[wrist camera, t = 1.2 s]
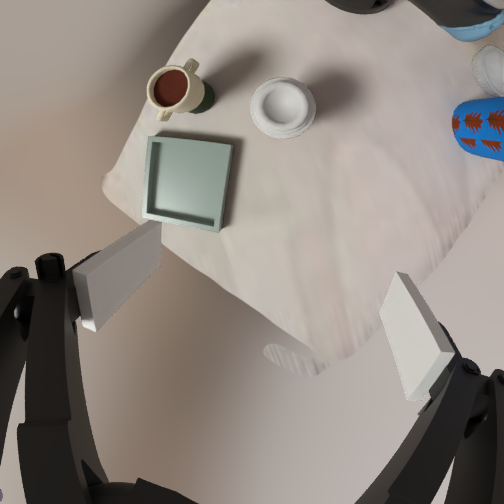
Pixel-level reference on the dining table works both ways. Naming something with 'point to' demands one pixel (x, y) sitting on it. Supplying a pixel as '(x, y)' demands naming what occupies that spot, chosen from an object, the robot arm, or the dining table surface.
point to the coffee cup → (283, 108)
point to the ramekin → (490, 70)
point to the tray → (186, 181)
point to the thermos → (481, 127)
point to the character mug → (179, 90)
